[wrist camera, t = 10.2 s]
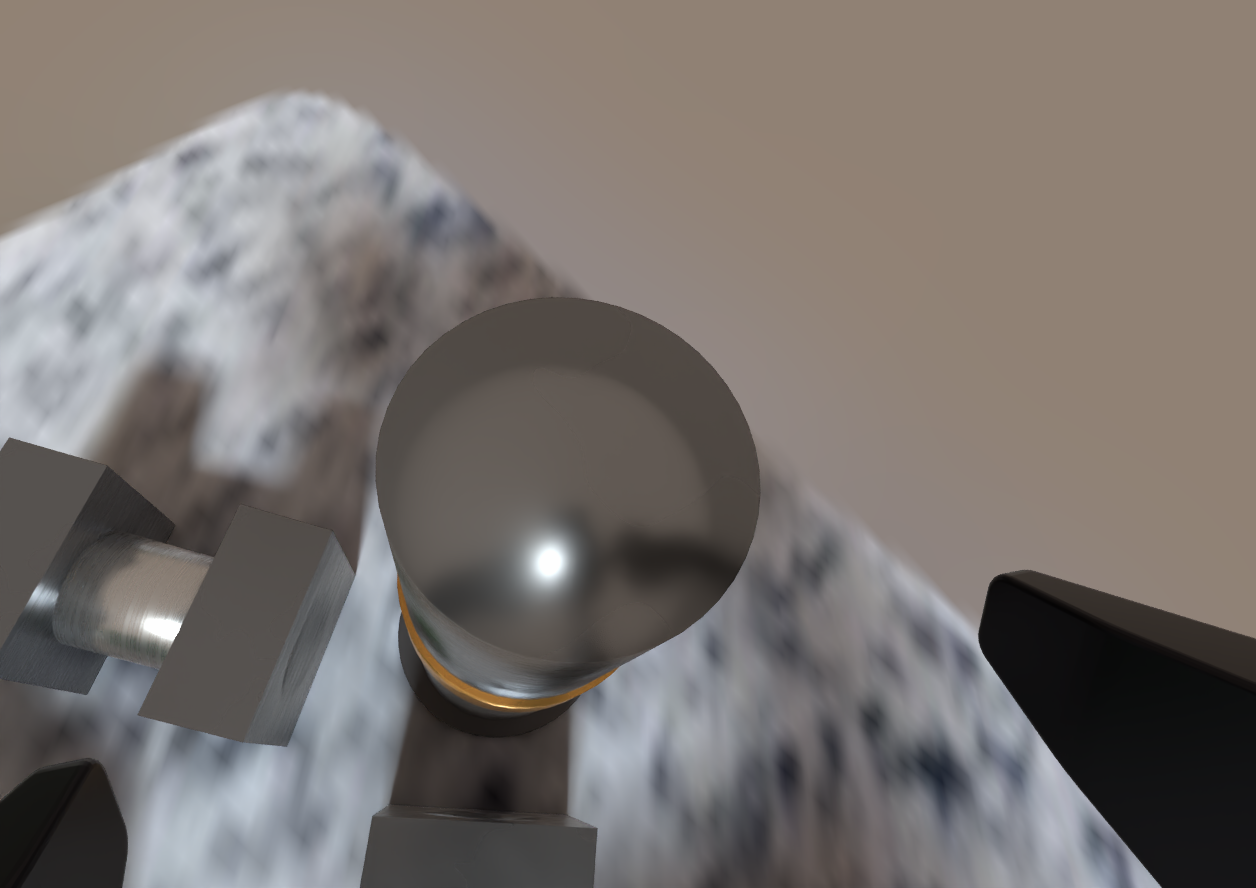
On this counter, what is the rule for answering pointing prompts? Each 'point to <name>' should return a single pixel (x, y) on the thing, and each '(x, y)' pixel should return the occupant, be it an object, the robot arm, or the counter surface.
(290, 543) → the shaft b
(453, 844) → the grey metal block
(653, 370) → the sleeve
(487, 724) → the pad
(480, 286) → the counter surface
